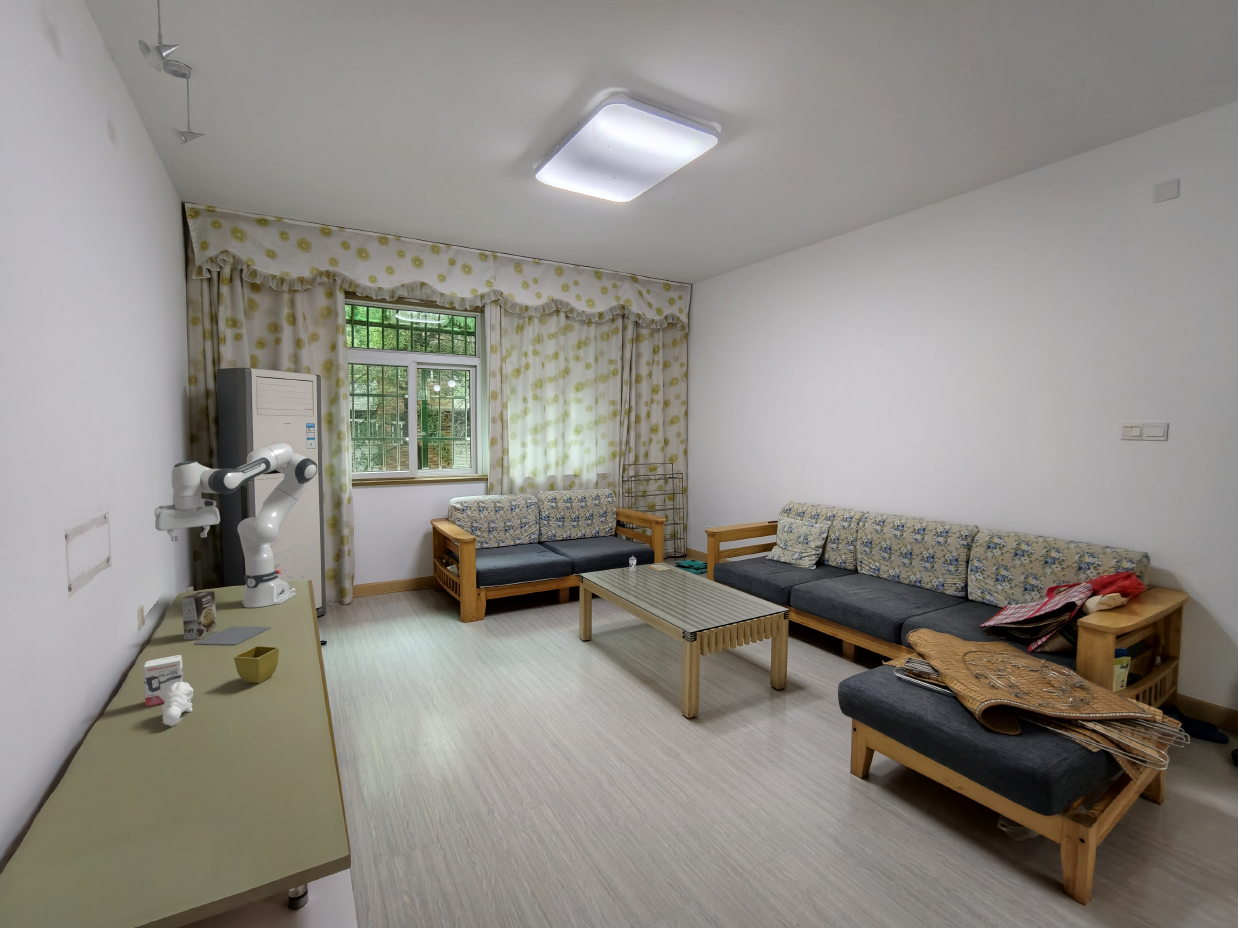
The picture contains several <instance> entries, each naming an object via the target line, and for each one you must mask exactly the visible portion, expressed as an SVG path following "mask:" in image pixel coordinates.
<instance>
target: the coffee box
mask: <svg viewBox="0 0 1238 928" xmlns="http://www.w3.org/2000/svg"><path fill="white" fill-rule="evenodd" d="M181 605H182V608H181V609H182V623H183V624H182V625H183V639H184V640H187V641H188V640H191V641H192V640H195V641H196V640H198V641H200V640H202V639H205V638H207V637H209V636H211V635H213V634H215V633H217V632H218V625H217V610H216V609H217V608H216V594H215V590H214V591H213V590H211V591H205V590H204V591H198V592H195V593H192V594H190V595H187V596H184V597H181Z"/></svg>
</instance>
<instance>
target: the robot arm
mask: <svg viewBox="0 0 1238 928" xmlns="http://www.w3.org/2000/svg"><path fill="white" fill-rule="evenodd" d="M272 471H276V472H279V473H281V474H283V475H284V476H283V479H282V480H281V481H280V482H279V483H278V484H277V485H276V486H275V487H274V489H273V490H272V491H271V493H269V495H268V496H267V497H266V499H265V500H264V501H263V503H262V506H261V509H260V510H259V512H258V514H257V515H256V517H255V516H251V517H247V518H245V519H243V520H242V521H240V522H239V523H238V525H237V533H238V535H239V539H240V544H241V547H242V552H243V556H244V566H245V567H244V568H245V574H244V583H245V585H244V590H243V600H241V601H242V602H241V603H242V605H243V607H244V608H249V609H250V608H261V607H267V606H268V607H269V606H273V605H279V604H280V605H281V604H282V603H285V602H286V601H287V600H290V598H293V597H294V596H296V594H297V593H296V592H295V591H291V589H290V585H289V583H288V582H286V581H285V580H283V579H282V578H279V576H278V575H281V574H282V573H283V572H282V571H283V570H282V569H276V570H275V554H274V552H273V550H272V548H271V547H272V546H271V544H270V543H271V542H274V541H275V540H276V539H277V538H278V535H279V530H280V528H282V527H281V526H282V524H283V522H284V520H285V519H286V517H287V515H288V514H289V513H290V511H291V510H292V509H293V507H294V506H295V505H296V503H297V502H298V501H299V500H300V498H301V497H302V496H303V494H304V492H305V491H306V489H307V487H308V483H309V482H310V481H311V480H313V478H314V477H315V476H316V475H317V473H318V464H317V463H316V461H315V460H313V459H312V458H310V457H307V456H304V455H303V454H300V453H297V452H294V449H293V447H291V445H290V444H289V443H286V442H276V443H275V442H274V443H271V444H268V445H264V446H261V447H259V448H256V449H254V450H253V451H251V452H249V453H248V454H247V457H246V463H245V464H243V465H241V466H238V467H235V468H229V467H228V468H210V467H207V466H205V465H202V464H200V463H198V461H195V460H190V461H189V460H188V461H181V462H178V463H175V464H174V465H173V467H172V470H171V486H172V489H173V493H172V504H169V505H168V504H167V505H159V506H158V507H156V508H155V509H154V517H155V523H154V528H155V529H156V530H157V531H160V532H164V531H166V533H167V534H168V535H169V537H170V538H171V540H170V541H171V542H178V540H179V539H178V536H176V535H174V531H175V530H179V529H188V528H189V529H190V528H196V527H203V529H204V530H203V531H202V532H200V538H207V537H208V535H207V533H208V532H209V530H210V528H211V527H210V526H213V525H218V524H219V523H220V522H221V517H220V516H221V515H220V511H219V508H217V501H216V500H213V499H207V498H203V497H202V493H204V494H205V493H206V494H220V495H230V494H233V493H235V492H236V491H237V490H238V489H239V488H240V487H241V486H242V485H243V484H245V483H246V482H248V481H251V480H253V479H254V478H257V477H259V476H261V475H263V474H267V473H269V472H272Z"/></svg>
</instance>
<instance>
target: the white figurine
mask: <svg viewBox="0 0 1238 928" xmlns="http://www.w3.org/2000/svg"><path fill="white" fill-rule="evenodd" d="M193 697H194V688H193V687H191V685H190V683H188V682H186V681H185V682H176V683H174V684H173V685H171V686H170V687H169V688H168V689H167V691H166V692H165V694H164V698H166V700H165V703H163V705H162V707H161V710H162V711H161V713H162V714H163V715H162V720H163V721H160V722H161V723H163V724H164V726H169V727H174V725H176V724H179V723H180V722H181V720H183V719H184V716H183V717H181V716H182V713H184V712H186V713H191V712H193V708H192V707H193V703H192V702H191V701H192V699H193Z"/></svg>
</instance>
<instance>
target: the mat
mask: <svg viewBox="0 0 1238 928" xmlns="http://www.w3.org/2000/svg"><path fill="white" fill-rule="evenodd" d="M271 628H272V626H238V625H236V626H234V625H233V626H229V627H228V628H225V629H223V630H221V631H217V632H215V633H213V634H210V635H208V636H206V637H204V638H202V639H199V640H198V641H196V642H194V643H193V645H198V646H201V645H202V646H237V645H239V644H241V643H244V642H246V641H247V640H250V639H251V638H254V637H255V636H258V635H260V634H262V633H264V632H266V631H267V630H270V629H271Z"/></svg>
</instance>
